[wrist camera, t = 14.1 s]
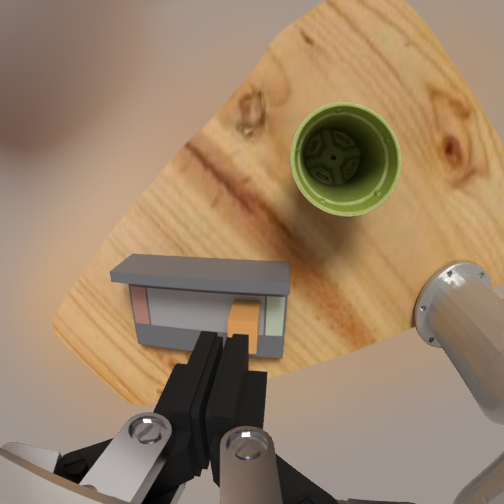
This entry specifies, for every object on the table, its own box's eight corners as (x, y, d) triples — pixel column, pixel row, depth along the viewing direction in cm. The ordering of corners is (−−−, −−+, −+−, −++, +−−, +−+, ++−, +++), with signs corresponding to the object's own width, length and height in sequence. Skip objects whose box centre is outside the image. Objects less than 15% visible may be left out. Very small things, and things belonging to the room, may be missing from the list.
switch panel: (288, 262, 36) (290, 283, 30) (282, 349, 40) (281, 378, 34) (132, 253, 38) (109, 271, 32) (143, 335, 41) (126, 360, 36)
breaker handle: (260, 301, 35) (257, 322, 31) (259, 331, 37) (256, 354, 32) (233, 299, 36) (227, 320, 31) (233, 329, 37) (228, 351, 33)
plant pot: (272, 175, 33) (269, 183, 25) (311, 98, 30) (322, 81, 22) (348, 215, 34) (368, 236, 26) (387, 141, 31) (419, 140, 23)
